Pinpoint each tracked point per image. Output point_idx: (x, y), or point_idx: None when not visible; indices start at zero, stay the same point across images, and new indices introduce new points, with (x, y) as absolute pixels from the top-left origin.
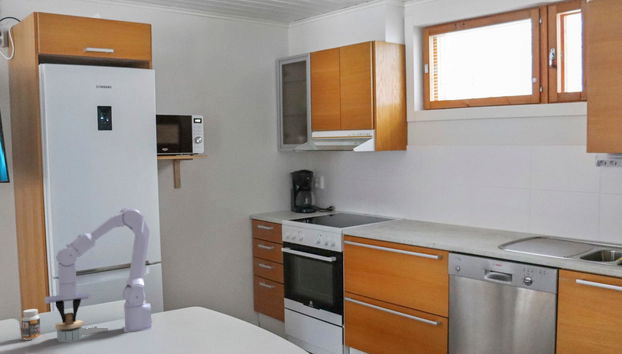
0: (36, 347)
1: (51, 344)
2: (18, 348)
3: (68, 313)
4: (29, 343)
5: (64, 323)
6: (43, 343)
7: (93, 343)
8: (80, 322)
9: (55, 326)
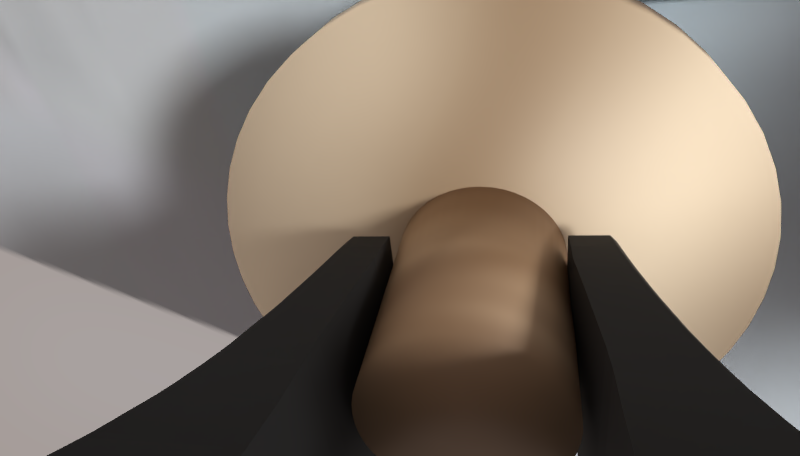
0: (174, 287)
1: None
2: (2, 248)
3: (450, 401)
4: (13, 101)
5: (378, 205)
6: (189, 169)
7: (775, 397)
8: (711, 270)
9: (255, 292)
